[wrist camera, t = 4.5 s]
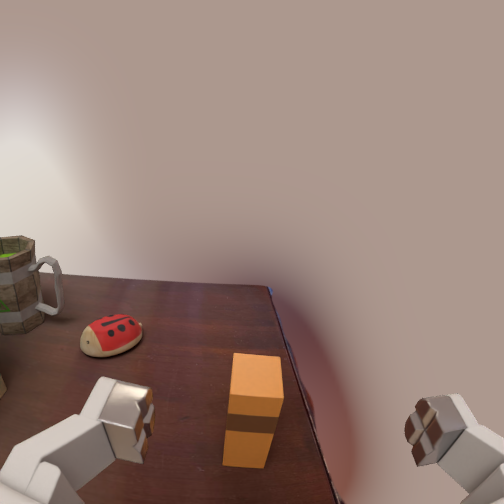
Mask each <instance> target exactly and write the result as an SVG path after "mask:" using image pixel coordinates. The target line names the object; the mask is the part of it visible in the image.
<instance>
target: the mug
mask: <svg viewBox="0 0 504 504" xmlns="http://www.w3.org/2000/svg"><path fill="white" fill-rule="evenodd" d="M44 263H47V264H49V265H51V266H52V268H53V272H54V275H55V291H56V297H57V303H58V307H57V308H56V309H55V308H53V307H51V306H49V305H46V304H44V301H43V298H42V293H41V288H40V275H39V271H38V270H39V269H40V268H41V266H42V265H43V264H44ZM63 306H64V294H63V287H62V271H61V269H60V266H59V264H58V261H57V260H56V259H54V258H52V257H50V256H46V257H43V258H41V259H39V261H38V262H37V263H36V256H35V240H33V239H30V238H27V237H24V236H11V237H0V333H1V334H3V335H10V334H26V333H27V332H29V331H30V330H32V329H33V328H35V327H36V326H38V325H39V324H41V323H42V322H44V317H45V313H47V314H49V315H52V316H55V315H58V314H60V313H61V312H62V309H63Z"/></svg>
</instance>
